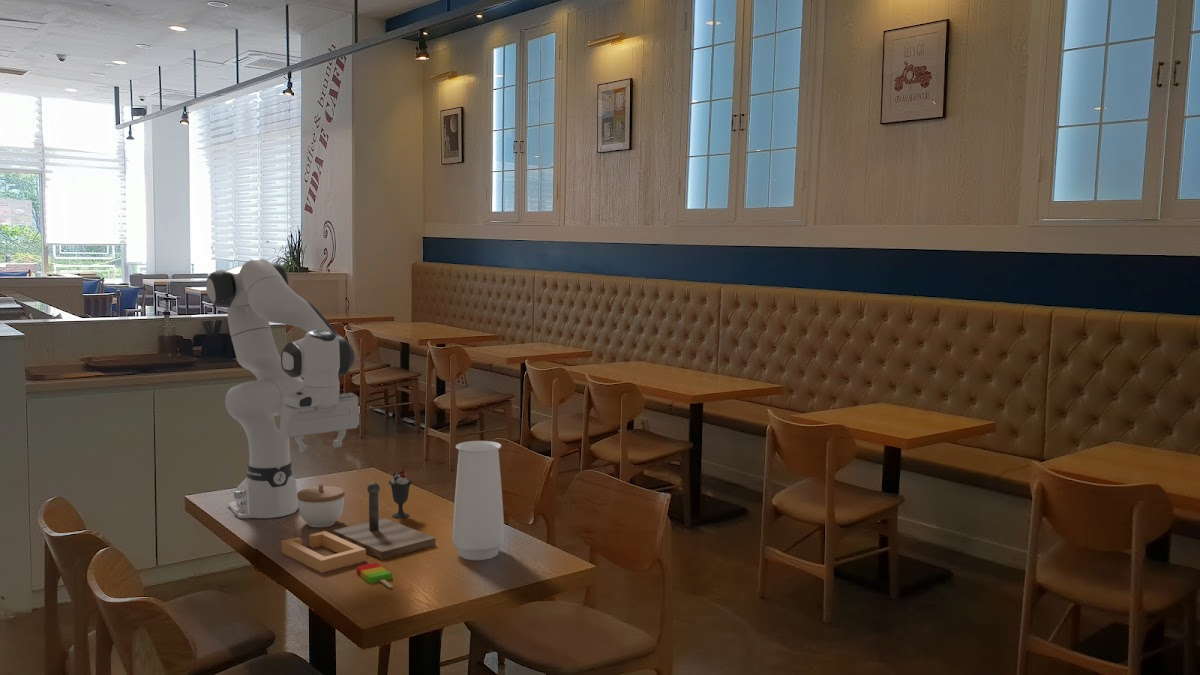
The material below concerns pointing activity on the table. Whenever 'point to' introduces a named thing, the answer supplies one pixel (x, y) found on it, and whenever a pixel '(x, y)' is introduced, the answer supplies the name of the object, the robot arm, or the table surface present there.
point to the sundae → (400, 491)
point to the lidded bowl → (321, 505)
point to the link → (343, 558)
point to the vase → (478, 501)
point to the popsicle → (375, 574)
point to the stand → (383, 533)
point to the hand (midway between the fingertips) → (320, 449)
